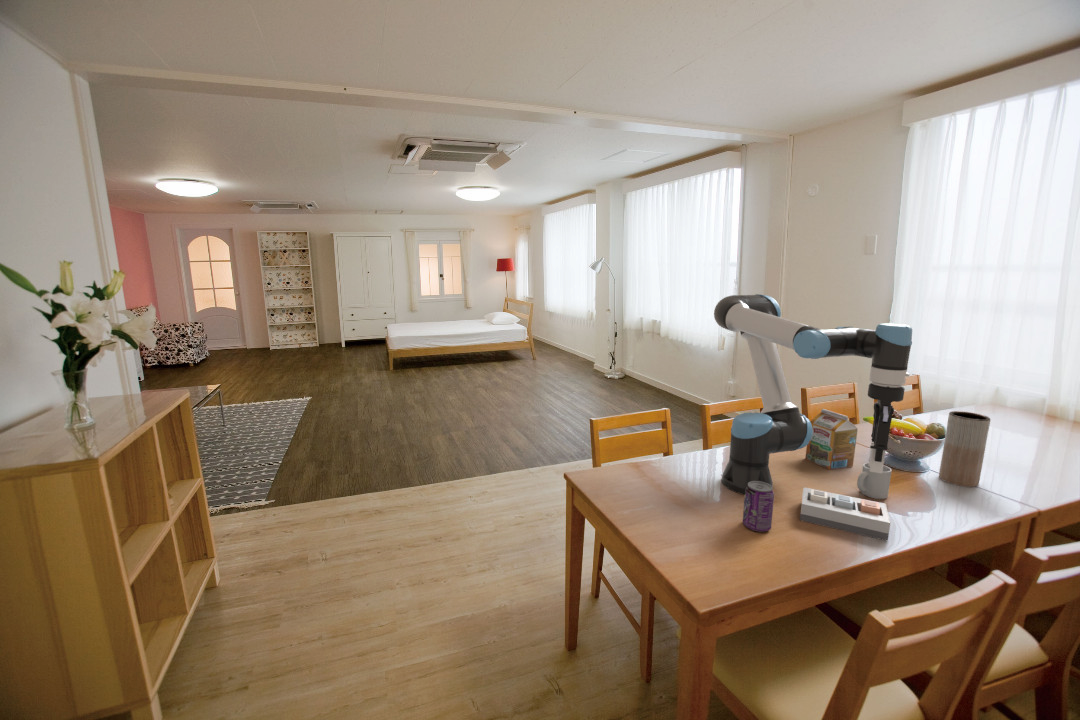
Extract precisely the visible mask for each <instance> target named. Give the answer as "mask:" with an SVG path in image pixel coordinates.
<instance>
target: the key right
mask: <svg viewBox="0 0 1080 720" xmlns="http://www.w3.org/2000/svg"><path fill="white" fill-rule="evenodd" d="M860 499H861V504H860V511H861V512H866V513H870V514H875V515H879V514H880V506H879V503H877V502H878V501H875V502H872V501H873V500H870V501H867V500H868V499H865V500H862V499H863V498H860Z"/></svg>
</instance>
